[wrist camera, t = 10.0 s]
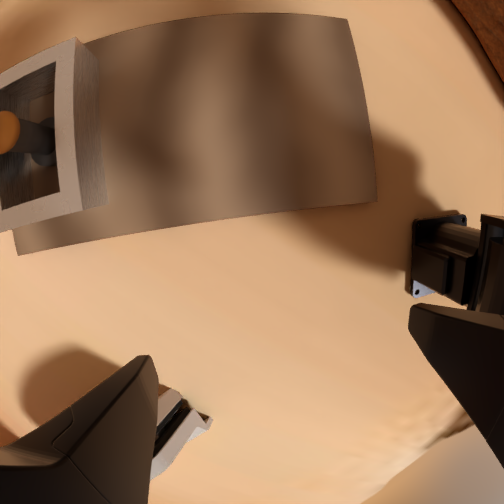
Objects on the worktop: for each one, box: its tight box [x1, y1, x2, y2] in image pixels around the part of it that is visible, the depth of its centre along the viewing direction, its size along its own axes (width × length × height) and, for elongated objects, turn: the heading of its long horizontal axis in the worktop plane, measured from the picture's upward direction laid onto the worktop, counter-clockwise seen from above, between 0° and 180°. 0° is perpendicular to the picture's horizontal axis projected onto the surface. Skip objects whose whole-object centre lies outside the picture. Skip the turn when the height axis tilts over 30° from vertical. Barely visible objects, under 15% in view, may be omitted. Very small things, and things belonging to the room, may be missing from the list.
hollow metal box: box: [0, 37, 109, 233], centre depth 13 cm, size 7×10×4 cm
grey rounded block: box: [150, 388, 213, 480], centre depth 18 cm, size 17×5×10 cm, turn 131°
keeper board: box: [0, 13, 377, 256], centre depth 13 cm, size 26×14×8 cm, turn 97°
